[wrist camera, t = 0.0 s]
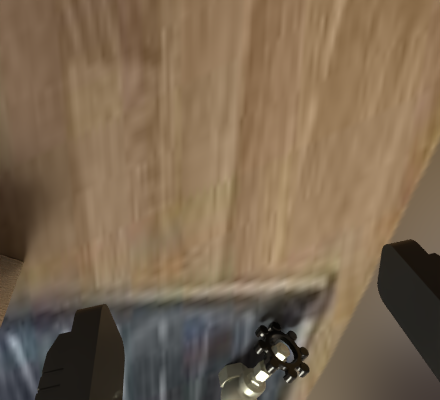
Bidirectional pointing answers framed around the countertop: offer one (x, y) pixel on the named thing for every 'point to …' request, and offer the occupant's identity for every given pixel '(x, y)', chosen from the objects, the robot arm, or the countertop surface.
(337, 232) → the countertop surface
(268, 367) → the valve
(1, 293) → the socket
